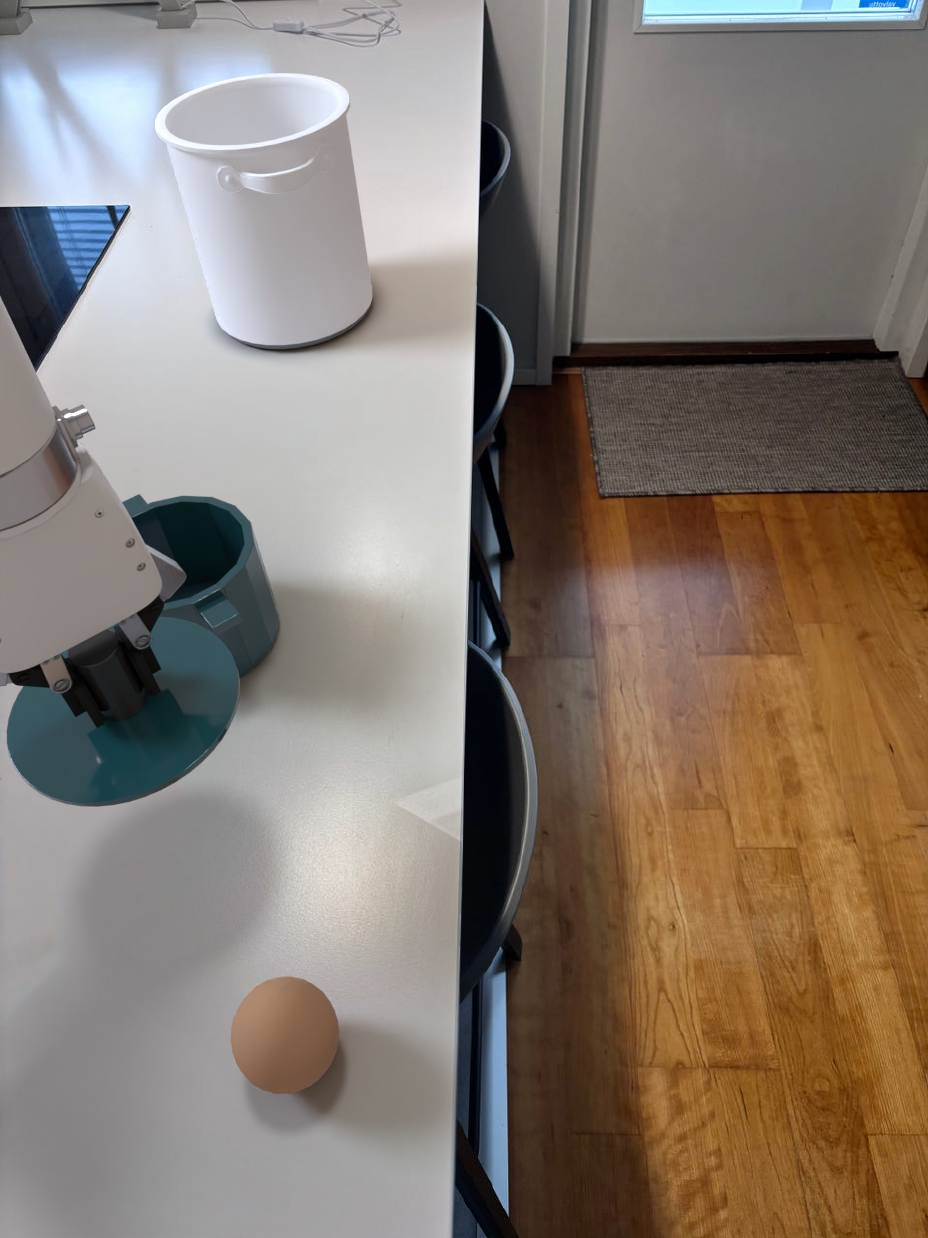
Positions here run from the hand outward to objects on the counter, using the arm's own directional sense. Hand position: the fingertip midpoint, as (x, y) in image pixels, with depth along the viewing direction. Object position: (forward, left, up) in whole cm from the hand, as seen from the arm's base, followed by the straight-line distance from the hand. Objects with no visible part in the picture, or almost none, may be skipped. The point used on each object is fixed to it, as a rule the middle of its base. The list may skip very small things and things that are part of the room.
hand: (119, 694), depth 60 cm
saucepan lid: (0, 0, -1) cm, 1 cm away
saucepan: (+10, +18, -17) cm, 27 cm away
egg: (-2, -19, -18) cm, 26 cm away
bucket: (+45, +61, -18) cm, 78 cm away
